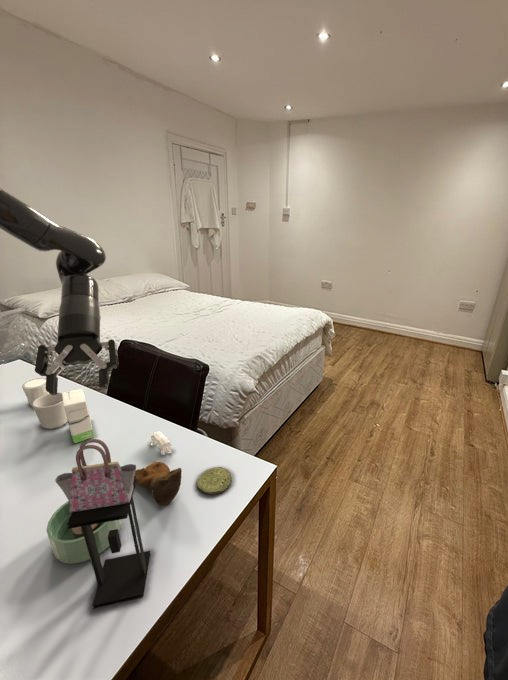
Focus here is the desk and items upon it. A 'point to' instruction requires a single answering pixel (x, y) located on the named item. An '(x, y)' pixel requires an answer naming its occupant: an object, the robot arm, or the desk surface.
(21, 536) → the desk surface
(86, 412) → the ink box
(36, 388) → the white cup
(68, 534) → the bowl
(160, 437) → the figurine
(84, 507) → the handbag
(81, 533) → the brown wooden pestle
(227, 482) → the medallion
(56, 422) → the cup
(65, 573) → the desk surface
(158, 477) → the sculpture
